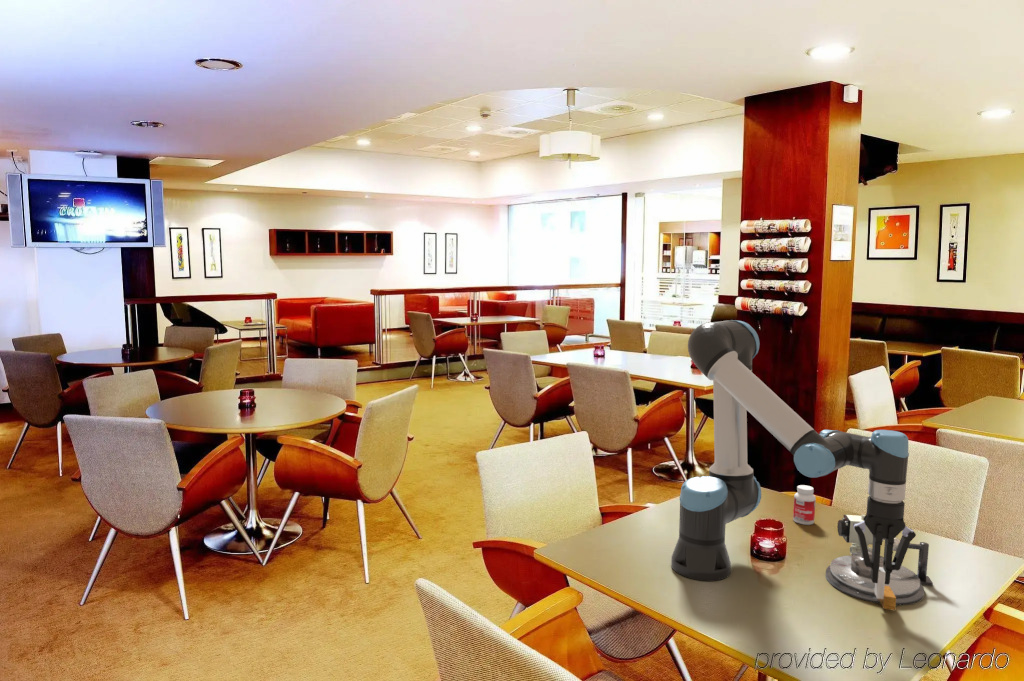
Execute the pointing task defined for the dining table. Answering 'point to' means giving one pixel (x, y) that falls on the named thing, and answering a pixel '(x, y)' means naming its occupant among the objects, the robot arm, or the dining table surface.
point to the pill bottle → (804, 505)
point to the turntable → (899, 586)
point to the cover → (862, 564)
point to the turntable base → (872, 598)
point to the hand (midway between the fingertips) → (879, 596)
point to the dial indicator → (919, 560)
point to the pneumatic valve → (854, 532)
